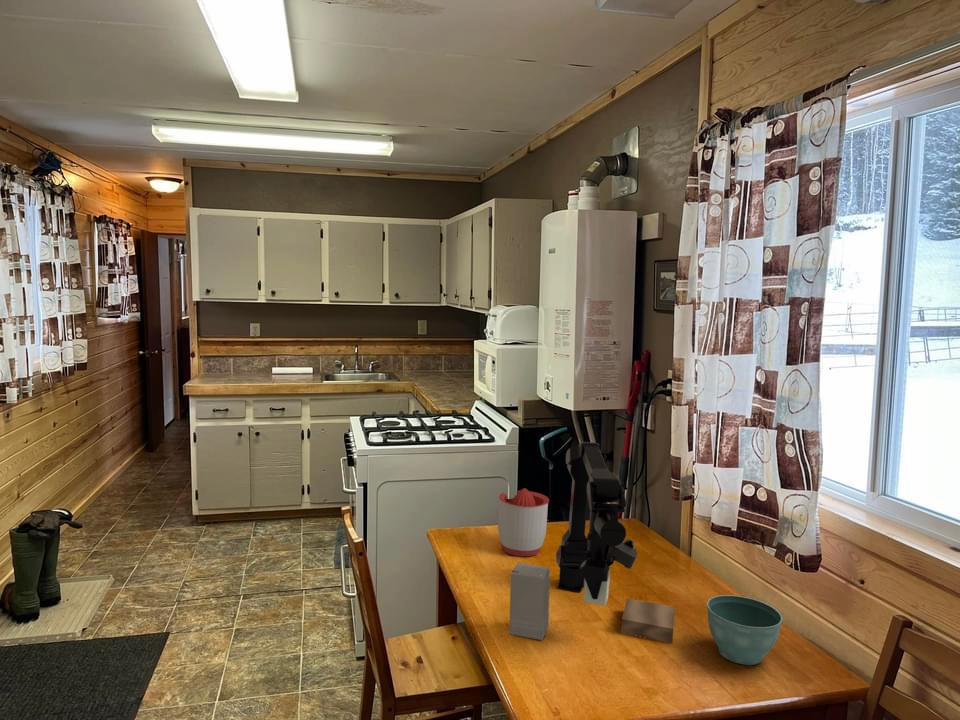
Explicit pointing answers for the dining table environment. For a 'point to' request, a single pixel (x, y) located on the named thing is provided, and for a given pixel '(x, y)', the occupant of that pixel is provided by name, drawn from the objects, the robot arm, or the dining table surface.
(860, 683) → the dining table surface
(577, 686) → the dining table surface
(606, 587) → the sage block
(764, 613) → the flower pot
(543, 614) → the skincare box
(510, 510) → the citrus juicer
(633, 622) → the walnut block
